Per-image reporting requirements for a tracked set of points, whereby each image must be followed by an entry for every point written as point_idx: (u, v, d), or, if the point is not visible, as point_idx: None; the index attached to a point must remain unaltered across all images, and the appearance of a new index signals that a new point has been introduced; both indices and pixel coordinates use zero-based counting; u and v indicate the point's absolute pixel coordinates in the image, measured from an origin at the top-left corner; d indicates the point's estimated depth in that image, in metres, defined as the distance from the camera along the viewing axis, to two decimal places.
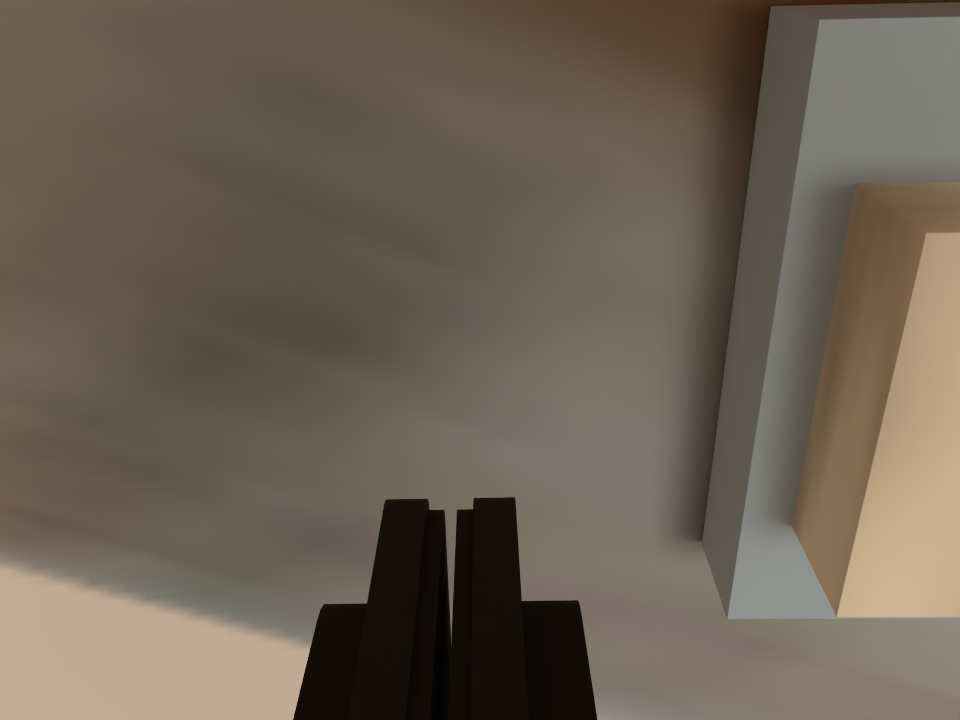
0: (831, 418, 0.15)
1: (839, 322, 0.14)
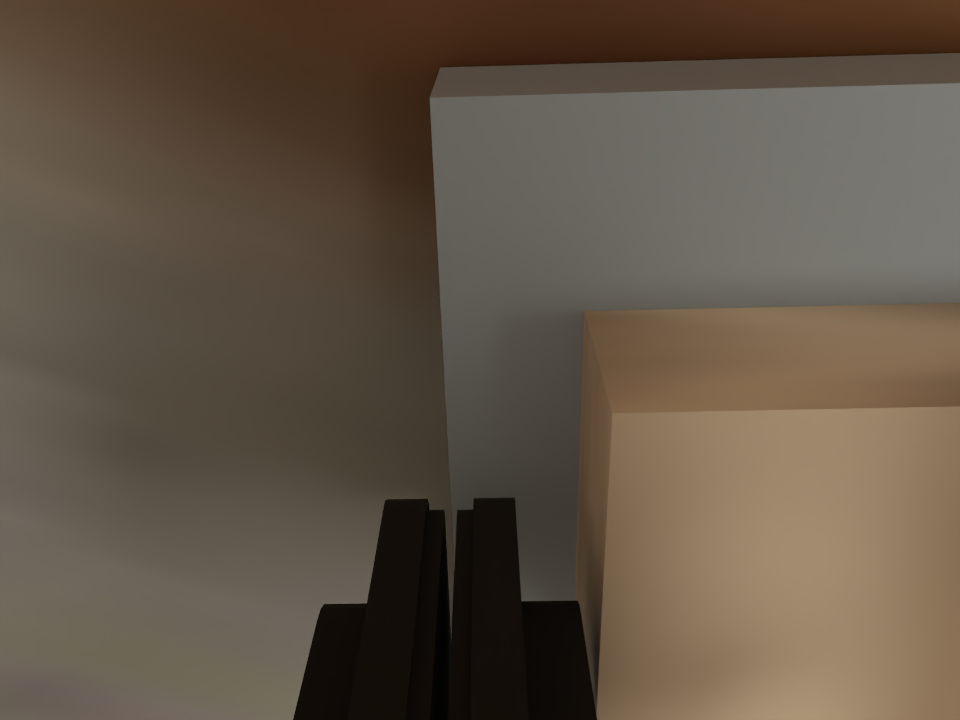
0: (581, 603, 0.11)
1: (582, 484, 0.11)
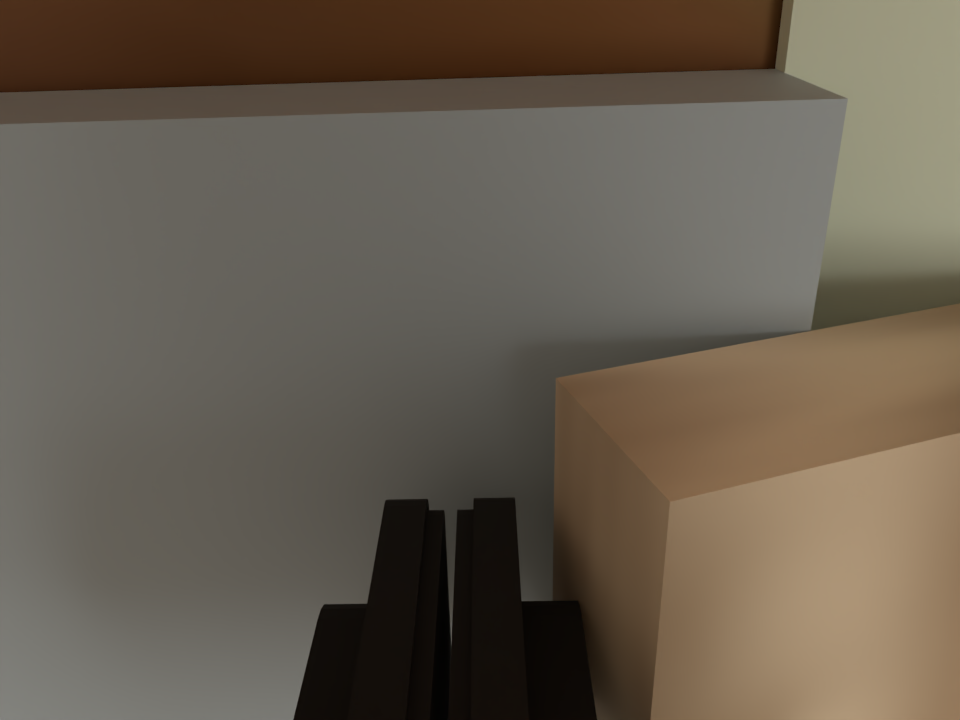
0: None
1: (565, 561, 0.10)
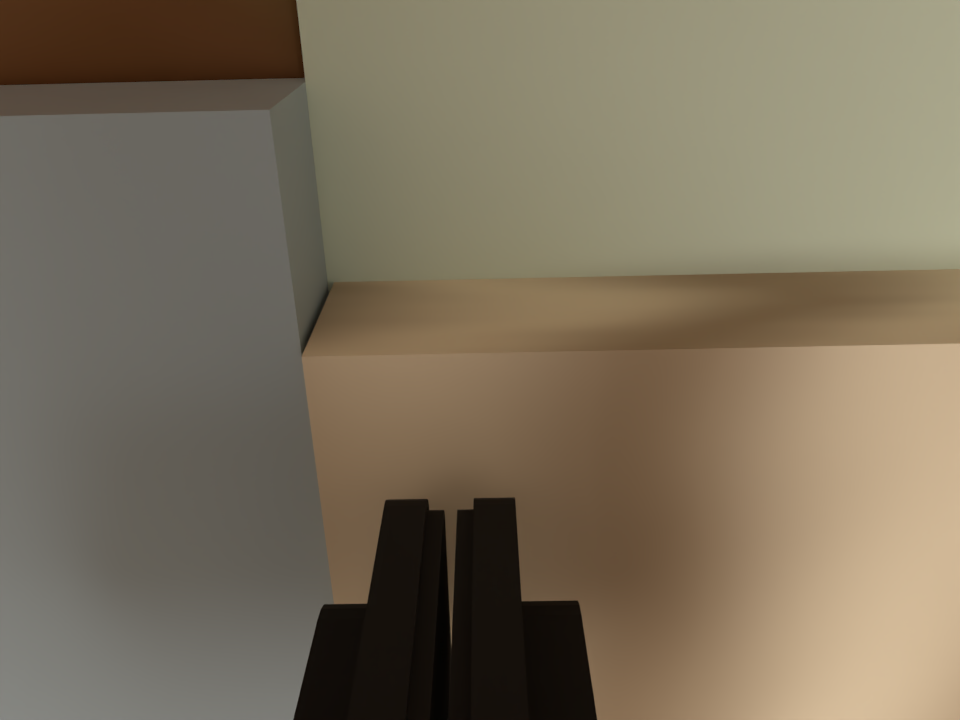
0: None
1: None
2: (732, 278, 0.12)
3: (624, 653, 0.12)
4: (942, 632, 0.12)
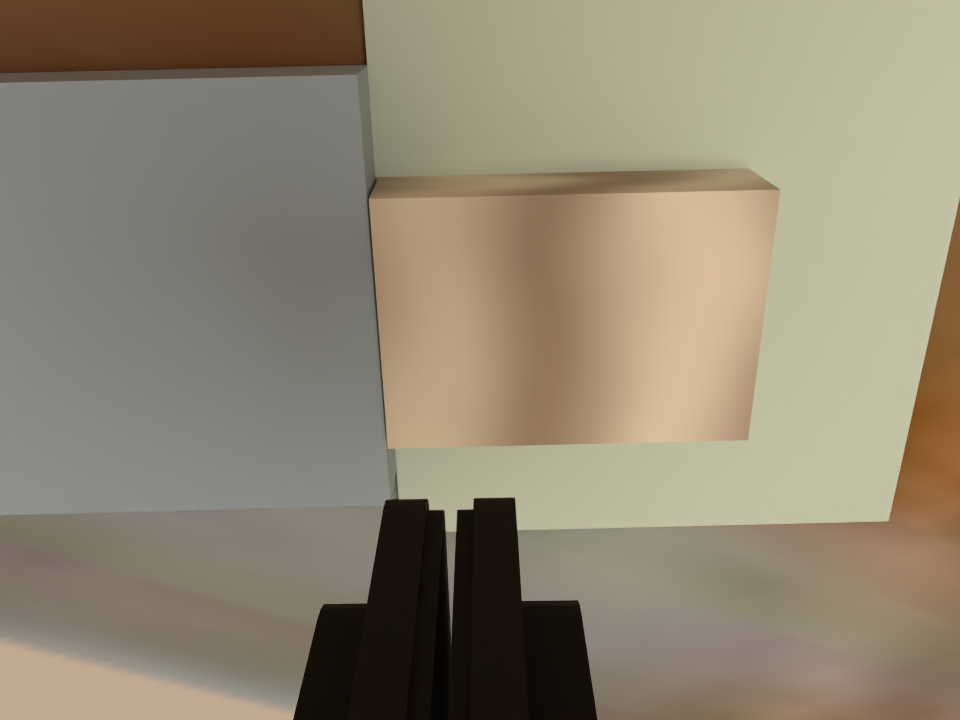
0: None
1: None
2: (595, 173, 0.22)
3: (538, 378, 0.22)
4: (710, 363, 0.22)
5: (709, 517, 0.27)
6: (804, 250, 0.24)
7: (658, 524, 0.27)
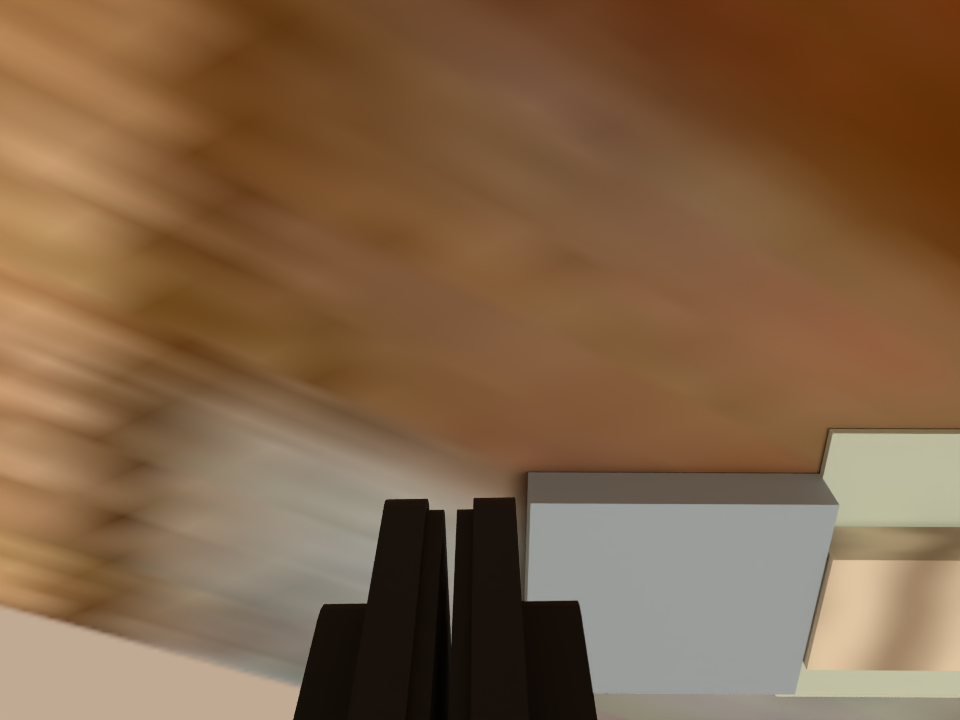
0: None
1: None
2: (934, 529, 0.41)
3: (899, 639, 0.41)
4: None
5: (959, 693, 0.46)
6: None
7: (927, 695, 0.46)
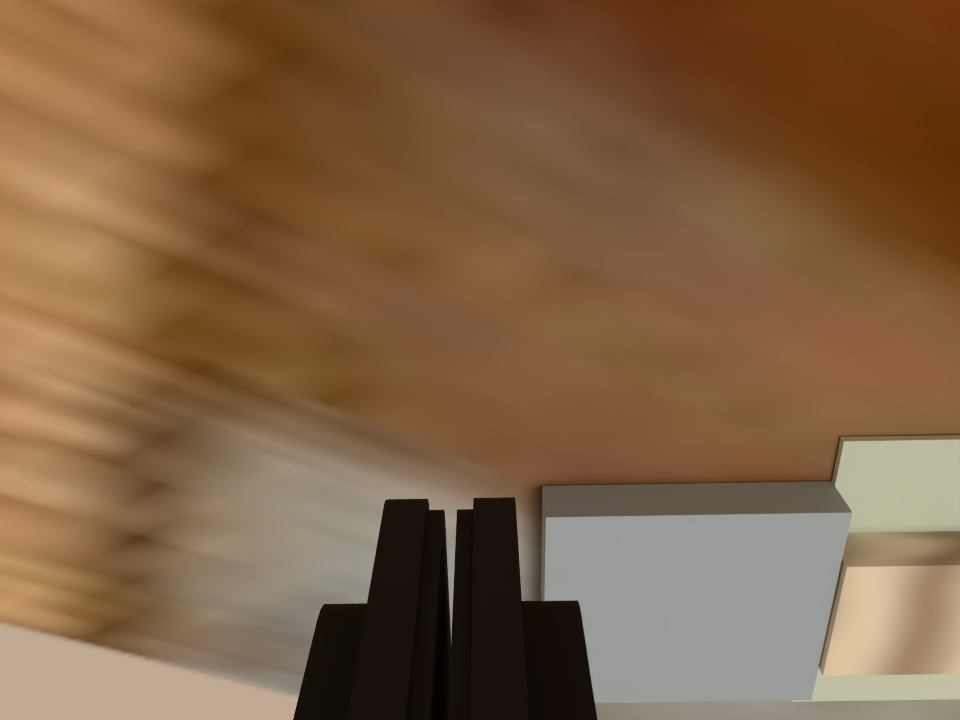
0: None
1: None
2: (947, 533, 0.41)
3: (914, 644, 0.41)
4: None
5: None
6: None
7: (943, 697, 0.46)
